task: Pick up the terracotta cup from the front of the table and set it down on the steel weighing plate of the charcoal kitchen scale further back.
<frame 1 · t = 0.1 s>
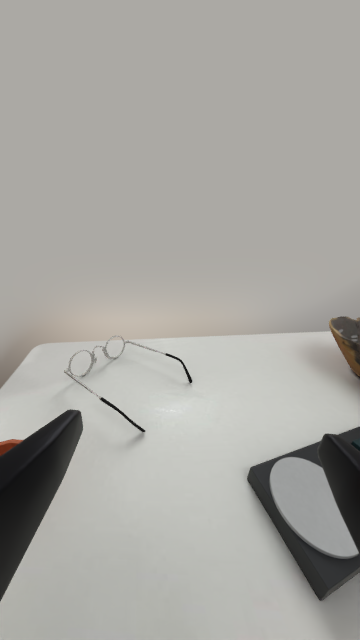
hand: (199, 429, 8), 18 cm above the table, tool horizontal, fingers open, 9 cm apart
scale: (351, 488, 23), on the table
eyeglasses: (130, 382, 38), on the table
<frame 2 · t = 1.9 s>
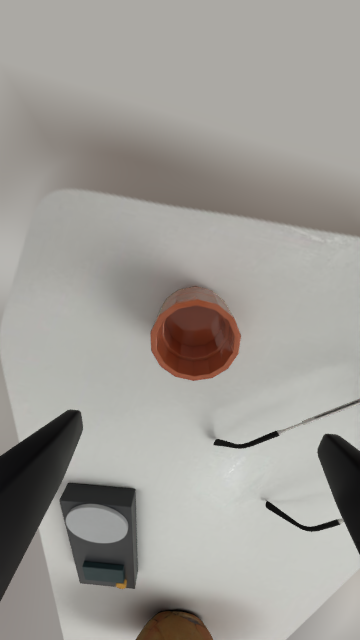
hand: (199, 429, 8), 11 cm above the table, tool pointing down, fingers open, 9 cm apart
terracotta cup: (193, 319, 18), on the table
scale: (107, 532, 31), on the table
eyeglasses: (314, 443, 23), on the table
bowl: (175, 616, 42), on the table
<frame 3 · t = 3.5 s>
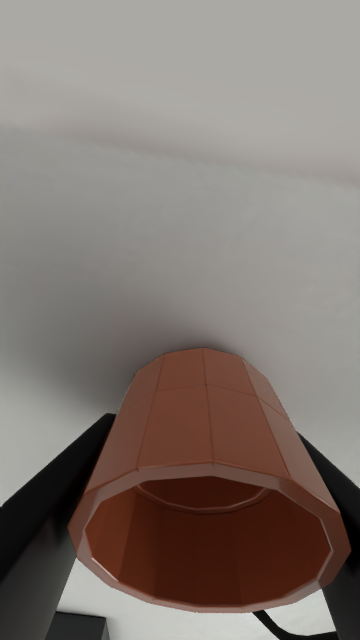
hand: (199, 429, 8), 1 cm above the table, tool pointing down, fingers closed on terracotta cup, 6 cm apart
terracotta cup: (197, 404, 9), on the table, touching gripper
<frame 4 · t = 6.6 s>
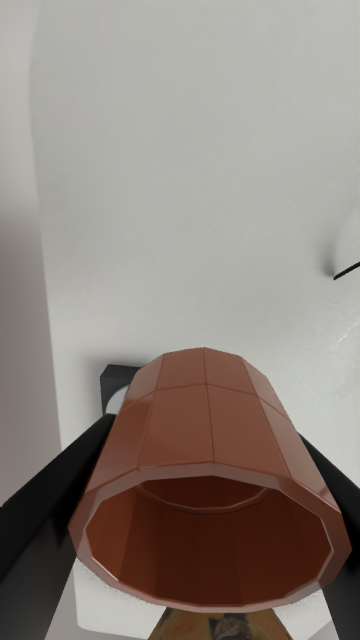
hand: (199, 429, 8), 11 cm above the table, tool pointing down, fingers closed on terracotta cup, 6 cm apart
terracotta cup: (198, 404, 9), point 10 cm above the table, touching gripper
scale: (150, 448, 24), on the table
bowl: (216, 576, 35), on the table
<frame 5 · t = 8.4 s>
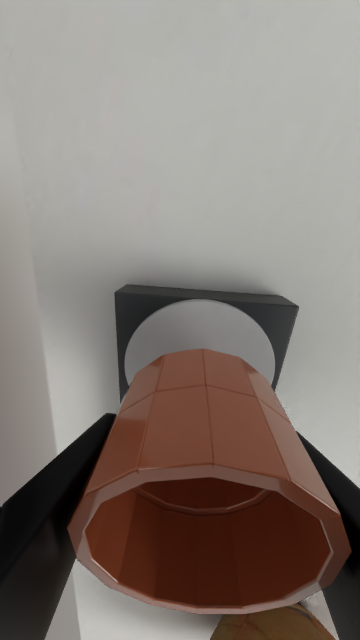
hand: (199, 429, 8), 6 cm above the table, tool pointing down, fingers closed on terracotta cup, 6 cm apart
terracotta cup: (197, 405, 9), point 5 cm above the table, touching gripper
scale: (188, 430, 16), on the table
bowl: (263, 607, 26), on the table
when the fingers open (4 cm above the table, at t = 9.6 s): terracotta cup stays where it is, resting on scale.
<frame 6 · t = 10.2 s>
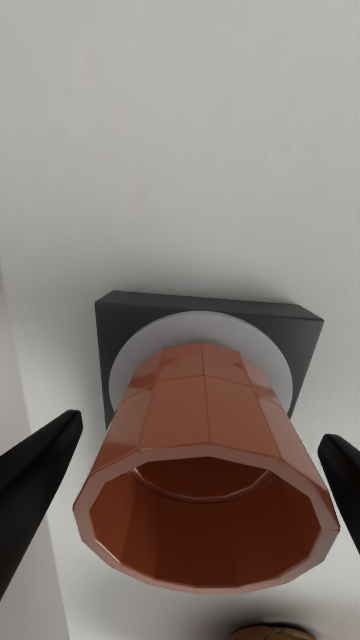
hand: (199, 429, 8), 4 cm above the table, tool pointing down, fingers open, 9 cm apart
terracotta cup: (196, 398, 9), point 2 cm above the table, touching scale
scale: (187, 455, 14), on the table
bowl: (268, 634, 24), on the table
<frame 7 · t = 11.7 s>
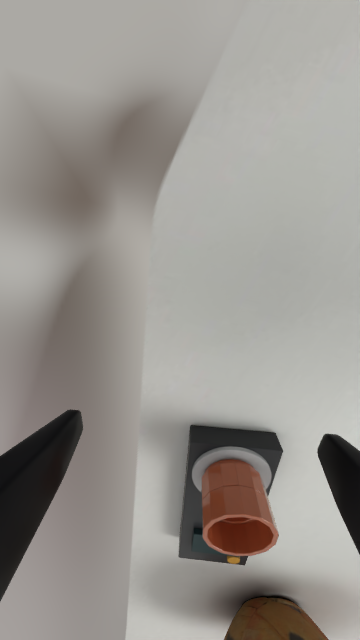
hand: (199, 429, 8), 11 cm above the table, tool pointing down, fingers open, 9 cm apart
terracotta cup: (230, 477, 21), point 2 cm above the table, touching scale
scale: (219, 493, 26), on the table
bowl: (267, 605, 36), on the table
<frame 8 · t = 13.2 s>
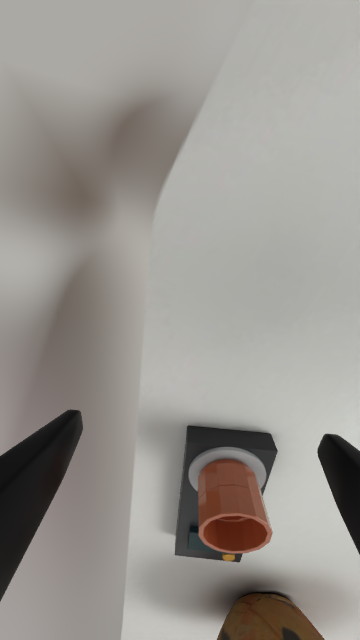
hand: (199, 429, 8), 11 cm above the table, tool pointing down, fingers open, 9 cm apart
terracotta cup: (226, 477, 21), point 2 cm above the table, touching scale
scale: (215, 492, 26), on the table
bowl: (261, 600, 37), on the table
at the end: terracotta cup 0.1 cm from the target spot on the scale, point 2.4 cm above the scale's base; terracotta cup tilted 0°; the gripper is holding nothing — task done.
